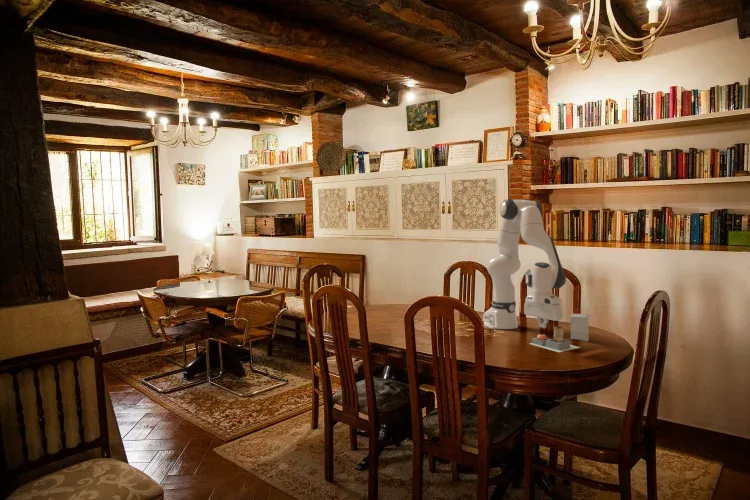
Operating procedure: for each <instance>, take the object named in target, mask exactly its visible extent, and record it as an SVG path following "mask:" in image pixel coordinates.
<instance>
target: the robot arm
mask: <svg viewBox="0 0 750 500" xmlns="http://www.w3.org/2000/svg"><path fill="white" fill-rule="evenodd" d="M542 206H543V205H542V204H541V203H540V202H538V201H536V200H529V199H512V198H511V199H509V198H508V199H504V200H503V201H502V202H501V203H500V206H499V213H500V215H499V216H501V221H500V226H499V230H498V235H497V236H498V237H497V243H496V244H497V246H498V248H499V249H498V250H499V256H496V257H493V258H492V259H490V260H489V261H488V263H487V265H486V270H487V272H488V274H489V275H490V277H491V281H492V286H493V301H491V302H490V304H491V307H490V308H489V309H488V310H486V311H485V312H483V316H482V320H483V321H484V325H483V326H485V327H486V328H489V329H492V330H513V329H517V328H518V327H519V323H518V320H517V311H516V306H517V303H516V300H515V299H516V294H515V293H516V290H515V289H516V288H515V287H516V286H515V285H514V284H513V281H512V276H511V275H514V274H516V272H518V271H519V269H520V268H521V260H520V258H519V257H520V256H519V245H520V244H519V243H520V237H521V239H522V240H523V241H524V242H525V243H526V244H527V245H530V246H532V247H535V248H538V249H540V250H543V252H545V254H546V255H547V258H548V261H549V263H547V262H542V261H541V262H540V261H539V262H535V263H534V264H533V266H532V268H529V269H528V270H527V271H525V273H524V276H525V278H524V280H525V281H524V282H525V284H526V286H527V287H529V288H532V295H527V296H526V297H525V300H524V301H525V302H524V306H523V307H524V308H523V312H524V315H525V316H530V317H534V318H536V320H537V322H538V328H539V327H540V328H542V329H546V328H547V324H548V322H549V320H550V321H554V322H559V321H562V319H563V307H562V303H563V302H562V301H563V299H562V298H560V297H558V295H555V294H553V289H558V290H559V289H561V288H562V287H563V286H565V284H566V282H567V277H566V273H565V271H564V268H563V266H562V264H561V260H560V257H559V254H558V250H557V248H556V247H557V246H556V245H555V241H554V240H553V238H552V237H551V236H550V235H548V234H547V232H546V230H545V228H544V227H545V226H544V221H543V218H542V214H543V207H542Z"/></svg>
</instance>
